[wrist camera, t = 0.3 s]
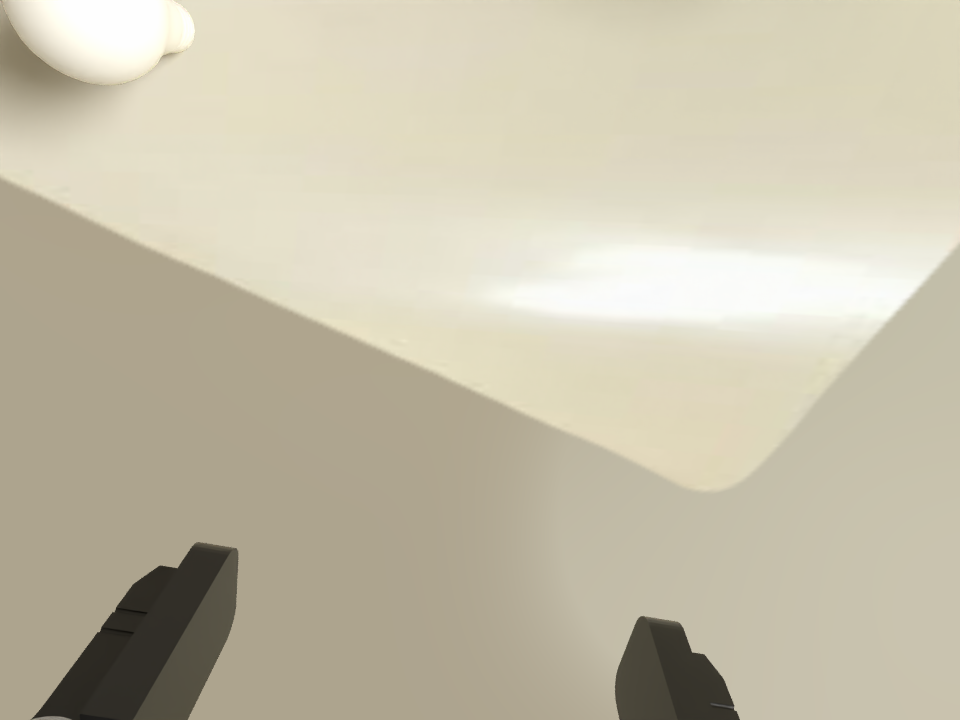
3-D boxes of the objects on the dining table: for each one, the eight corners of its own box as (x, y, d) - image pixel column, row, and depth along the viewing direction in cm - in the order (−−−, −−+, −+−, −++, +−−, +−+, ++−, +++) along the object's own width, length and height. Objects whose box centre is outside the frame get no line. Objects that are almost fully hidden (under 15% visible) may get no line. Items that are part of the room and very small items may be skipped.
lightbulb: (145, 97, 35) (1, 94, 24) (104, -26, 32) (-74, -88, 22) (248, 80, 34) (145, 68, 24) (214, -47, 32) (84, -119, 22)
